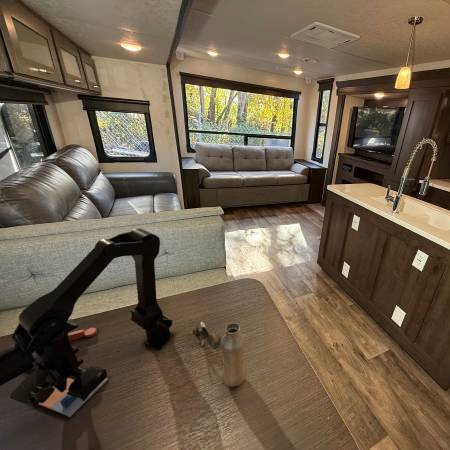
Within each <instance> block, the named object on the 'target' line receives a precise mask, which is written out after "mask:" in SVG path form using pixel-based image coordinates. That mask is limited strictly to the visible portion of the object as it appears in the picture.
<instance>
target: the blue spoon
mask: <svg viewBox="0 0 450 450" xmlns="http://www.w3.org/2000/svg"><path fill="white" fill-rule="evenodd" d="M76 399H77V397H74V396H71V395H67V396H66V397H65V398H64V399H62V400H61V401H60V402H61V405H62V407H64V408H67V407H68V406H69V405H71V404H72V403H73V402H74V401H75V400H76Z"/></svg>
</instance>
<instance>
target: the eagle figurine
mask: <svg viewBox="0 0 450 450" xmlns="http://www.w3.org/2000/svg"><path fill="white" fill-rule="evenodd" d="M200 327H201V329H200V330H199V327H198V326H197V325H196V326H195V328H196V329H192V332H189V333H188V332H187V335H188V336H195V337H196V338H200V347H203V345H204V344H205V340H206V342H207V343H208V344H209V345H212V347H213V348H217V347H219V346H220V342H221V337H220V336H219V334H217V333H216V331H213V330H210V329H207V327H206V324H205V323H204V322H203V321H201V322H200Z"/></svg>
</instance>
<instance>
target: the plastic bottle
mask: <svg viewBox="0 0 450 450" xmlns="http://www.w3.org/2000/svg"><path fill="white" fill-rule="evenodd" d="M224 329H225V331H224V335H223V336H222V338H220V345H219V346H220V347H219V348H220V351H221V354H222V360H223V365H222V371H221V378H222V381H223V384H225V385H226V386H227V387H233V388H234V387H238V386H239V385H241V384H243V382H244V380H245V378H246V373H247V371H246V366H245V363H244V353H245V347H246V339H245V337H244V335H243V334H242V333H241V326H240V325H239V323H237V322H231V323H229V324H227V325H226V326H225V328H224Z"/></svg>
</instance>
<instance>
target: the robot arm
mask: <svg viewBox="0 0 450 450" xmlns="http://www.w3.org/2000/svg"><path fill="white" fill-rule="evenodd" d="M160 250H161V238H160V237H159V236H158V235H157V234H155V233H152V232H150V231H148V230H146V229H143V228H140V227H139V228H133V229H131V230H130V231H126V232H121V233H118V234H116V235H113V236H111V237H109V238H103V239H100V240H98V241H97V242H96V243H95V245H94V248H93V249H91V250H90V252H88V254H86V256H84V258H83V259H82V260H81V261H80V262H79V263H78V264H77V265H76V266H75V267H74V268H73V269H72V270H71V271H70V273H69V274H67V276H65V278H64V279H63V280H61V282H60V283H59V284H58V285H57V286H56V287H55V288H53V290H52V291H49V292H48V293H45V294H43V295H41V296H39V297H37V299H35V300H33V302H32V303H30V304H29V305H28V306H27V307H25V308H23V310H22V311H21V312H20V314H19V316H18V324H17V325H16V328H15V330H14V331H13V333H12V335H11V336H10V339H11V340H12V341H13V343H12V344H11V345H9V346H6V347H5V348H2V349H1V350H0V387H3V385H5V384H7V383H9V382H10V381H12V380H15V379H16V378H18V377H20V376H21V375H22V376H23V378H24V379H23V380H22V382H20V383H19V384H18V386H16V387H15V389H14V390H13V391H12V392H11V393H10V395H9V398H10V399H12V400H13V401H16V402H18V403H21V404H24V405H26V406H30V407H36V406H38V405H39V403H44V402H45V401H46V400H47V399H48V398H49V397H50V396H51V394H52V393H53V392H54V390H55V388H56V389H57V390H58V391H60V392H61V393H62V392H64V391H65V390H66V388H67V378H70V379H73V380H74V381H73V382H72V383H71V384H70V386H69V388H68V391H69V392H67V393H66V394H68V395H71V396H74V397H77V398H80V399H81V400H82V401H84V400H85V399H86V398H87V397H88V395H89V394H90V393H91V392H92V391H93V390H94V389H95V388H96V387H97V386H98V385H99V384H101V383H102V382H103V381H104V380H105V379H106V378H108V373H107V372H108V371H107V370H106V368H103V367H99V366H97V365H89V366H88V368H87V369H84V368H81V367H80V366H81V365H82V364H84V362H85V361H84V359H82V358H80V357H78V355H77V353H78V352H80V348H79V346H76V345H73V342H72V340H70V337H69V334H68V333H71V332H73V331H74V330H76V329H77V328H79V325H78V323H76V322H75V321H74V319H71V318H70V317H71V316H72V315H73V313H74V308H75V306H76V303H77V302H78V300H79V299H80V298H81V296H83V294H84V293H85V292H86V290H88V289H89V287H90V286H91V285H92V284H93V283H94V282H95V281H96V279H97V278H99V276H100V275H101V274H102V273H103V272H104V271H105V269H106V268H107V267H108V266H109V265H110V264H111V263H112V262H113V260H114V259H118V258H122V257H132V259H133V261H134V267H135V268H134V269H135V281H136V293H137V304H136V305H135V307H133V308H130V310H129V311H130V314H131V316H130V320H131V321H132V322H133V323H134V324H136V325H137V326H139V328H141V329H143V330H144V331H145V336H146V338H147V339H145V341H143V344H144V345H146V346H149V347H151V348H155V349H158V350H161V349H162V348H163V347H164V346H165V345H166V344H167V343H168V342H169V341H170V340H171V339H172V338H173V337H174V335H175V333H174V332H172V331H170V328H171V327H172V325H173V322H174V321H173V319H171V318H169V317H168V316H167V315H164V313H163V310H162V308H161V306H160V305H159V303H158V300H157V282H156V267H155V266H156V265H155V264H156V263H155V262H156V261H155V260H156V259H157V257H158V256H159V254H160ZM34 353H35V354H36V356H34V355H33V354H34ZM53 387H54V388H53Z"/></svg>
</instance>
